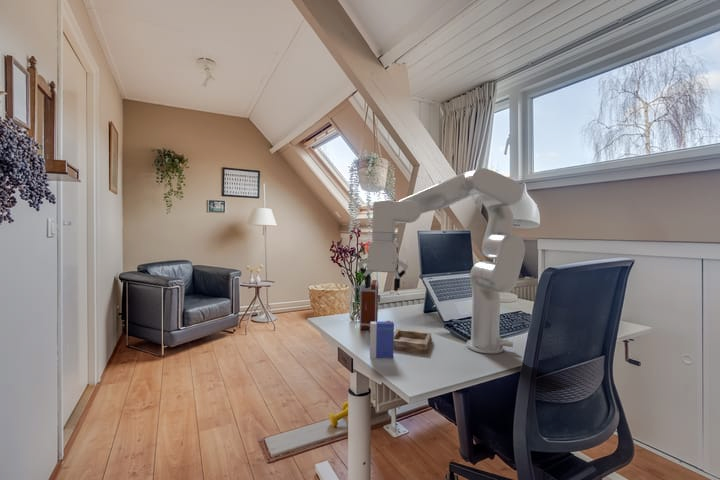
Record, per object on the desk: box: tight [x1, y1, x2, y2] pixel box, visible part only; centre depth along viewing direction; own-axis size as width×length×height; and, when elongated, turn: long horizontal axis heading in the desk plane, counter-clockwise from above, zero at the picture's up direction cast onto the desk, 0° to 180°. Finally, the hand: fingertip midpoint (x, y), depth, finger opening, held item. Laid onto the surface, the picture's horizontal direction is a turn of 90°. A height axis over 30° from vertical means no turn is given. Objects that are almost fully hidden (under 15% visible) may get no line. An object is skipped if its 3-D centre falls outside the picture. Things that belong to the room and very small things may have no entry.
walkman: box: [369, 320, 395, 359], centre depth 112 cm, size 8×3×12 cm, turn 94°
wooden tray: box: [393, 328, 433, 355], centre depth 124 cm, size 14×14×3 cm
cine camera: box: [359, 278, 381, 331], centre depth 149 cm, size 9×19×20 cm, turn 174°
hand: (382, 288), depth 112 cm, fingers open, 9 cm apart
